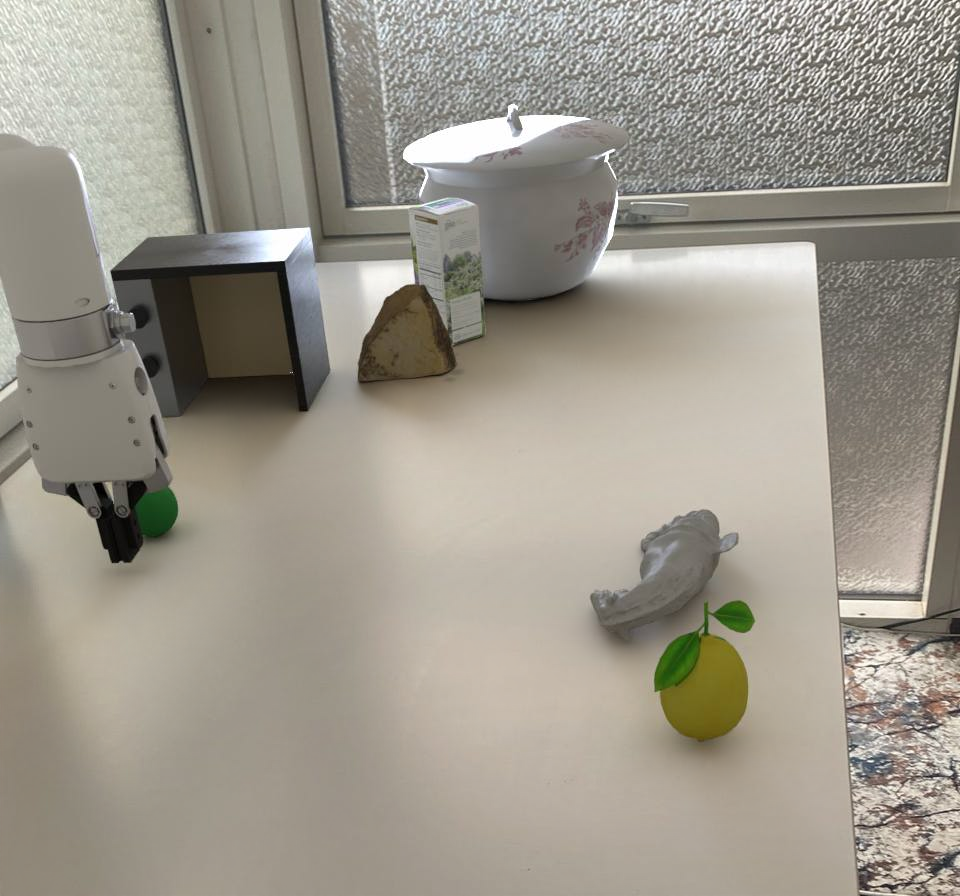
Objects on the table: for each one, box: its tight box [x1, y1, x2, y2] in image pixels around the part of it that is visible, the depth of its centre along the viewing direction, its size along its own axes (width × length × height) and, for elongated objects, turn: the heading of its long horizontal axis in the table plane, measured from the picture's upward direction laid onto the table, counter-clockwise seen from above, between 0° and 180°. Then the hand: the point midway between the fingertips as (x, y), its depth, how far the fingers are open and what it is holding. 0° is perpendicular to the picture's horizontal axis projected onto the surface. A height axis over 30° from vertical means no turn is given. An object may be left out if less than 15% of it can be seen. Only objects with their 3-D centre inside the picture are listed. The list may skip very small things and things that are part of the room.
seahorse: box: [589, 508, 740, 641], centre depth 102 cm, size 5×12×20 cm
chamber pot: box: [402, 103, 630, 302], centre depth 165 cm, size 28×28×21 cm
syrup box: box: [408, 198, 486, 347], centre depth 152 cm, size 6×6×14 cm
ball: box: [135, 486, 179, 538], centre depth 117 cm, size 5×5×5 cm
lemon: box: [653, 599, 756, 742], centre depth 83 cm, size 7×6×10 cm
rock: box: [357, 283, 458, 382], centre depth 146 cm, size 11×9×10 cm
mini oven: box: [109, 227, 331, 418], centre depth 142 cm, size 18×14×15 cm
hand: (126, 555), depth 112 cm, fingers closed
